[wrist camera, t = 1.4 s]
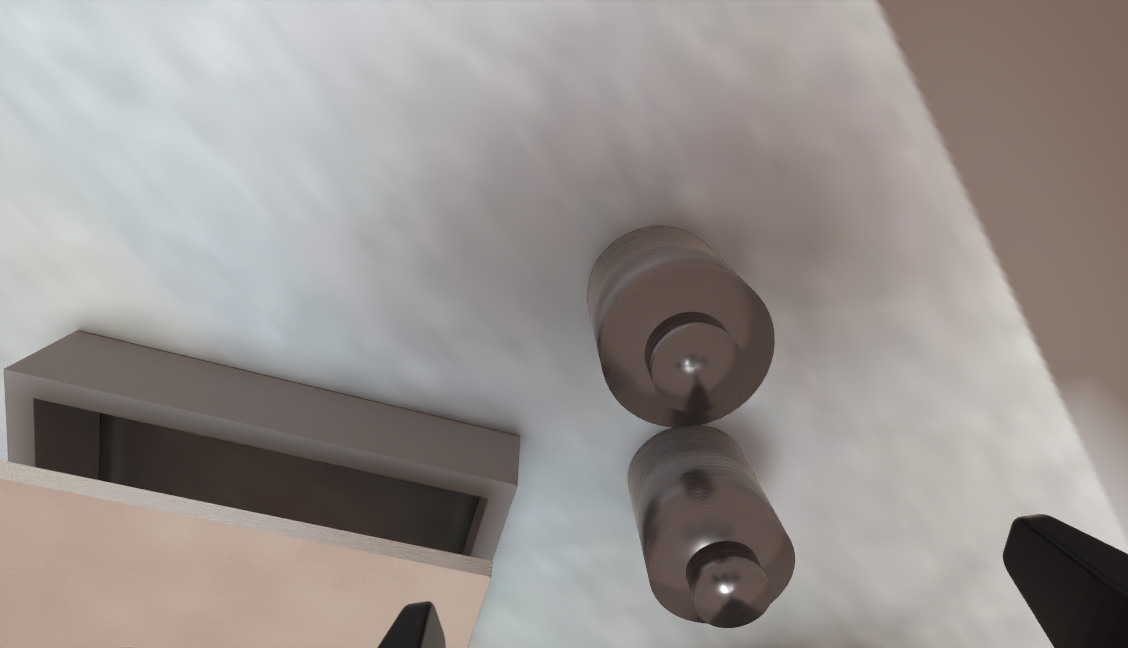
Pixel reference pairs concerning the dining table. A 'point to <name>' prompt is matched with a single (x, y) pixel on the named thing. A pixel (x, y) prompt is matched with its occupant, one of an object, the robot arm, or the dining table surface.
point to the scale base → (246, 422)
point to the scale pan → (205, 573)
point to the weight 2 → (707, 528)
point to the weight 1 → (676, 328)
